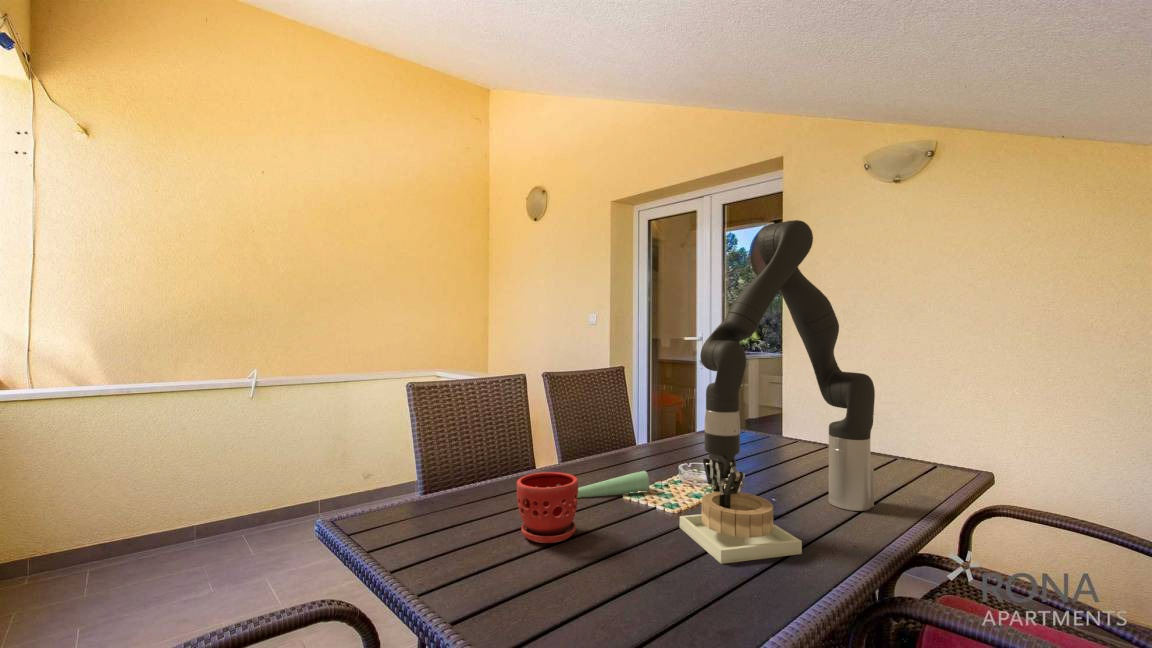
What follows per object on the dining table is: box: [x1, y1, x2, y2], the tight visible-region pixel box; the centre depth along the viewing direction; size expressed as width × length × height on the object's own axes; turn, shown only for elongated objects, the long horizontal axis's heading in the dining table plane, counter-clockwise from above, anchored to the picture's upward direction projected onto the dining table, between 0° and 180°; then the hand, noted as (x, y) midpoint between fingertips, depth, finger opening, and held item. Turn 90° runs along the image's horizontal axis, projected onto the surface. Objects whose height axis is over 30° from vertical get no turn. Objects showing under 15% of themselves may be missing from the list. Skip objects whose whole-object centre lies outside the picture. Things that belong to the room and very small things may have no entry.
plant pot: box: [516, 471, 579, 544], centre depth 108 cm, size 13×13×12 cm
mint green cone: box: [577, 470, 650, 499], centre depth 134 cm, size 5×6×27 cm
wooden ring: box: [701, 491, 774, 538], centre depth 105 cm, size 14×14×4 cm
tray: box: [679, 513, 803, 564], centre depth 105 cm, size 18×18×2 cm
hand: (721, 508), depth 111 cm, fingers closed on wooden ring, 2 cm apart
